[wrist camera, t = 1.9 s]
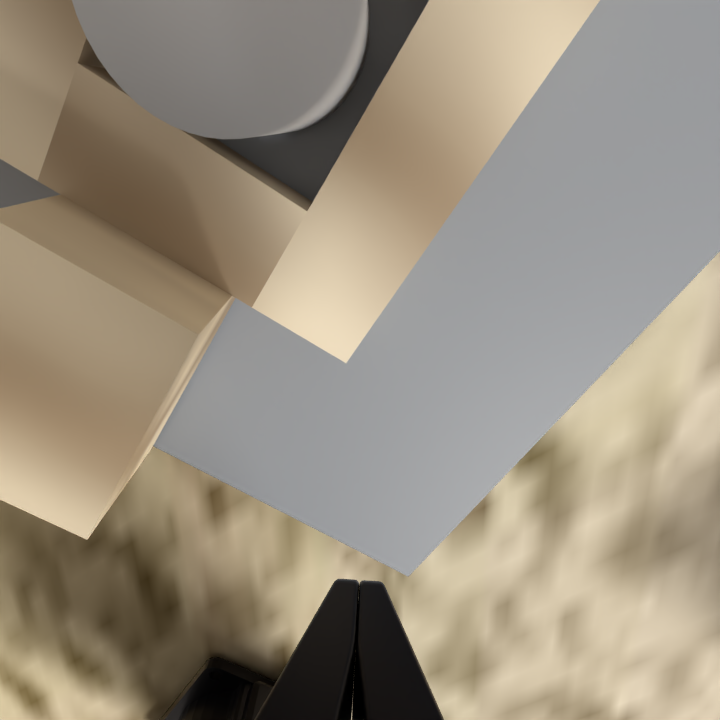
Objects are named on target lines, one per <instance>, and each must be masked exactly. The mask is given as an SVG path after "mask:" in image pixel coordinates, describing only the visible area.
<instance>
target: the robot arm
mask: <svg viewBox="0 0 720 720" xmlns="http://www.w3.org/2000/svg"><path fill="white" fill-rule="evenodd" d="M358 596H359V599H358ZM354 668H355V669H354ZM353 684H354V688H353ZM352 700H353V708H352ZM351 713H352V720H444V719H443V716H442V714H441V712H440V709H439V707H438V705H437V703H436V700H435V698H434V696H433V694H432V691H431V689H430V687H429V685H428V682H427V680H426V678H425V676H424V673H423V671H422V669H421V667H420V664H419V662H418V660H417V658H416V655H415V653H414V651H413V649H412V646H411V644H410V642H409V639H408V637H407V635H406V633H405V630H404V628H403V626H402V624H401V621H400V619H399V617H398V615H397V612H396V610H395V608H394V606H393V603H392V601H391V599H390V597H389V594H388V592H387V590H386V588H385V586H384V584H383V583H382V582H379V581H365V580H364V581H361V582H360V584H359V583H358V581H357V580H350V579H337V580H336V581H335V582H334V583H333V585H332V587H331V588H330V590H329V592H328V593H327V595H326V597H325V599H324V600H323V602H322V604H321V606H320V607H319V609H318V611H317V612H316V614H315V616H314V618H313V619H312V621H311V623H310V625H309V626H308V628H307V630H306V631H305V633H304V635H303V637H302V638H301V640H300V642H299V644H298V645H297V647H296V649H295V650H294V652H293V654H292V656H291V657H290V659H289V661H288V663H287V664H286V666H285V668H284V669H283V671H282V673H281V675H280V676H279V678H278V680H277V681H276V682H275V681H272V680H270V679H268V678H266V677H263V676H261V675H259V674H256V673H254V672H252V671H250V670H247V669H245V668H243V667H240V666H238V665H236V664H234V663H231V662H229V661H227V660H224V659H221V658H211V659H209V660H208V661H206V663H205V664H204V665H203V666H202V668H201V669H200V670H199V672H198V673H197V674H196V675H195V677H194V678H193V679H192V680H191V682H190V683H189V684H188V685H187V687H186V688H185V689H184V690H183V692H182V693H181V694H180V695H179V697H178V698H177V699H176V701H175V702H174V703H173V704H172V706H171V707H170V708H169V709H168V711H167V712H166V713H165V714H164V716H163V717H162V718H161V719H160V720H351Z"/></svg>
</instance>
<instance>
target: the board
mask: <svg viewBox="0 0 720 720" xmlns="http://www.w3.org/2000/svg"><path fill="white" fill-rule="evenodd" d="M428 1H429V0H72V2H73V5H74V8H75V12H76V15H77V17H78V20H79V22H80V24H81V27H82V29H83V31H84V33H85V36H86V38H87V40H88V41H89V43H90V45H91V47H92V49H93V50H94V52H95V54H96V56H97V57H98V59H99V60H100V62H101V63H102V65H103V66H104V67H105V69H106V70H107V72H108V73H109V75H110V76H111V77H112V78H113V79H114V80H115V81H116V83H117V84H118V85H119V86H120V87H121V88H122V90H123V91H124V92H125V93H127V94H128V95H129V96H130V97H131V98H132V99H133V100H134V101H135V102H136V103H137V104H138V105H140V106H141V107H143V108H144V109H145V110H147V111H148V112H149V113H151V114H152V115H153V116H155V117H157V118H158V119H160V120H162V121H164V122H166V123H167V124H169V125H171V126H173V127H176V128H178V129H181V130H183V131H185V132H188V133H191V134H195V135H199V136H203V137H208V138H215V139H217V140H219V141H220V142H222V143H223V144H225V145H226V146H228V147H229V148H231V149H232V150H234V151H235V152H237V153H238V154H240V155H242V156H243V157H245V158H246V159H248V160H249V161H251V162H252V163H254V164H255V165H257V166H258V167H260V168H261V169H263V170H265V171H266V172H268V173H269V174H271V175H272V176H274V177H275V178H277V179H278V180H280V181H281V182H283V183H284V184H286V185H288V186H289V187H291V188H292V189H294V190H295V191H297V192H298V193H300V194H301V195H303V196H304V197H306V198H307V199H309V200H310V201H312V202H313V201H314V199H315V197H316V195H317V194H318V192H319V190H320V189H321V187H322V185H323V183H324V182H325V180H326V178H327V176H328V175H329V173H330V171H331V169H332V168H333V166H334V164H335V163H336V161H337V159H338V157H339V156H340V154H341V152H342V150H343V149H344V147H345V145H346V143H347V142H348V140H349V138H350V137H351V135H352V133H353V131H354V130H355V128H356V126H357V124H358V123H359V121H360V119H361V117H362V116H363V114H364V112H365V111H366V109H367V107H368V105H369V104H370V102H371V100H372V98H373V97H374V95H375V93H376V91H377V90H378V88H379V86H380V85H381V83H382V81H383V79H384V78H385V76H386V74H387V72H388V71H389V69H390V67H391V65H392V64H393V62H394V60H395V59H396V57H397V55H398V53H399V52H400V50H401V48H402V46H403V45H404V43H405V41H406V39H407V38H408V36H409V34H410V33H411V31H412V29H413V27H414V26H415V24H416V22H417V20H418V19H419V17H420V15H421V14H422V12H423V10H424V8H425V7H426V5H427V3H428ZM57 195H61V194H59V193H57V192H55V191H54V190H52V189H50V188H49V187H47V186H45V185H44V184H42V183H40V182H39V181H37V180H35V179H33V178H32V177H30V176H28V175H27V174H25V173H23V172H22V171H20V170H18V169H17V168H15V167H13V166H12V165H10V164H8V163H6V162H5V161H3V160H1V159H0V208H5V207H9V206H13V205H18V204H22V203H26V202H31V201H35V200H39V199H44V198H48V197H52V196H57ZM719 252H720V0H600V1H599V2H598V4H597V5H596V7H595V8H594V10H593V11H592V12H591V14H590V15H589V17H588V18H587V20H586V21H585V22H584V24H583V25H582V27H581V28H580V30H579V31H578V32H577V34H576V35H575V37H574V38H573V40H572V41H571V43H570V44H569V45H568V47H567V48H566V50H565V51H564V53H563V54H562V55H561V57H560V58H559V60H558V61H557V63H556V64H555V65H554V67H553V68H552V70H551V71H550V73H549V74H548V75H547V77H546V78H545V80H544V81H543V83H542V84H541V85H540V87H539V88H538V90H537V91H536V93H535V94H534V95H533V97H532V98H531V100H530V101H529V103H528V104H527V105H526V107H525V108H524V110H523V111H522V113H521V114H520V115H519V117H518V118H517V120H516V121H515V123H514V124H513V125H512V127H511V128H510V130H509V131H508V133H507V134H506V135H505V137H504V138H503V140H502V141H501V143H500V144H499V145H498V147H497V148H496V150H495V151H494V153H493V154H492V155H491V157H490V158H489V160H488V161H487V163H486V164H485V165H484V167H483V168H482V170H481V171H480V173H479V174H478V175H477V177H476V178H475V180H474V181H473V183H472V184H471V185H470V187H469V188H468V190H467V191H466V193H465V194H464V195H463V197H462V198H461V200H460V201H459V203H458V204H457V205H456V207H455V208H454V210H453V211H452V213H451V214H450V215H449V217H448V218H447V220H446V221H445V223H444V224H443V226H442V227H441V228H440V230H439V231H438V233H437V234H436V236H435V237H434V238H433V240H432V241H431V243H430V244H429V246H428V247H427V248H426V250H425V251H424V253H423V254H422V256H421V257H420V258H419V260H418V261H417V263H416V264H415V266H414V267H413V268H412V270H411V271H410V273H409V274H408V276H407V277H406V278H405V280H404V281H403V283H402V284H401V286H400V287H399V288H398V290H397V291H396V293H395V294H394V296H393V297H392V298H391V300H390V301H389V303H388V304H387V306H386V307H385V308H384V310H383V311H382V313H381V314H380V316H379V317H378V318H377V320H376V321H375V323H374V324H373V326H372V327H371V328H370V330H369V331H368V333H367V334H366V336H365V337H364V338H363V340H362V341H361V343H360V344H359V346H358V347H357V348H356V350H355V351H354V353H353V354H352V356H351V357H350V358H349V360H348V361H347V363H345V362H343V361H341V360H340V359H338V358H336V357H335V356H333V355H331V354H330V353H328V352H326V351H324V350H323V349H321V348H319V347H318V346H316V345H314V344H313V343H311V342H309V341H308V340H306V339H304V338H302V337H301V336H299V335H297V334H296V333H294V332H292V331H291V330H289V329H287V328H286V327H284V326H282V325H280V324H279V323H277V322H275V321H274V320H272V319H270V318H269V317H267V316H265V315H264V314H262V313H260V312H259V311H257V310H255V309H253V308H252V307H250V306H248V305H247V304H245V303H243V302H242V301H240V300H238V299H237V298H235V300H234V302H233V303H232V305H231V307H230V309H229V311H228V312H227V314H226V316H225V318H224V320H223V321H222V323H221V325H220V327H219V328H218V330H217V332H216V334H215V336H214V337H213V339H212V341H211V343H210V345H209V346H208V348H207V350H206V352H205V354H204V355H203V357H202V359H201V361H200V363H199V364H198V366H197V368H196V370H195V372H194V373H193V375H192V377H191V379H190V381H189V382H188V384H187V386H186V388H185V390H184V391H183V393H182V395H181V397H180V398H179V400H178V402H177V404H176V406H175V407H174V409H173V411H172V413H171V415H170V416H169V418H168V420H167V422H166V424H165V425H164V427H163V429H162V431H161V433H160V434H159V436H158V438H157V440H156V442H155V443H154V445H153V446H154V447H156V448H158V449H160V450H162V451H164V452H166V453H168V454H170V455H172V456H173V457H175V458H177V459H179V460H181V461H183V462H185V463H187V464H189V465H191V466H193V467H195V468H197V469H199V470H201V471H203V472H205V473H207V474H209V475H211V476H213V477H215V478H217V479H218V480H220V481H222V482H224V483H226V484H228V485H230V486H232V487H234V488H236V489H238V490H240V491H242V492H244V493H246V494H248V495H250V496H252V497H254V498H256V499H258V500H260V501H262V502H263V503H265V504H267V505H269V506H271V507H273V508H275V509H277V510H279V511H281V512H283V513H285V514H287V515H289V516H291V517H293V518H295V519H297V520H299V521H301V522H303V523H305V524H307V525H308V526H310V527H312V528H314V529H316V530H318V531H320V532H322V533H324V534H326V535H328V536H330V537H332V538H334V539H336V540H338V541H340V542H342V543H344V544H346V545H348V546H350V547H352V548H353V549H355V550H357V551H359V552H361V553H363V554H365V555H367V556H369V557H371V558H373V559H375V560H377V561H379V562H381V563H383V564H385V565H387V566H389V567H391V568H393V569H395V570H397V571H399V572H400V573H402V574H404V575H406V576H409V575H410V574H411V573H412V572H413V571H414V570H415V569H416V568H417V567H418V566H419V565H420V564H421V563H422V562H423V561H424V560H425V559H426V558H427V557H428V556H429V555H430V553H431V552H432V551H433V550H434V549H435V548H436V547H437V546H438V545H439V544H440V543H441V542H442V541H443V540H444V539H445V538H446V537H447V536H448V535H449V534H450V533H451V532H452V530H453V529H454V528H455V527H456V526H457V525H458V524H459V523H460V522H461V521H462V520H463V519H464V518H465V517H466V516H467V515H468V514H469V513H470V512H471V511H472V510H473V509H474V507H475V506H476V505H477V504H478V503H479V502H480V501H481V500H482V499H483V498H484V497H485V496H486V495H487V494H488V493H489V492H490V491H491V490H492V489H493V488H494V487H495V486H496V485H497V483H498V482H499V481H500V480H501V479H502V478H503V477H504V476H505V475H506V474H507V473H508V472H509V471H510V470H511V469H512V468H513V467H514V466H515V465H516V464H517V463H518V462H519V460H520V459H521V458H522V457H523V456H524V455H525V454H526V453H527V452H528V451H529V450H530V449H531V448H532V447H533V446H534V445H535V444H536V443H537V442H538V441H539V440H540V439H541V437H542V436H543V435H544V434H545V433H546V432H547V431H548V430H549V429H550V428H551V427H552V426H553V425H554V424H555V423H556V422H557V421H558V420H559V419H560V418H561V417H562V416H563V414H564V413H565V412H566V411H567V410H568V409H569V408H570V407H571V406H572V405H573V404H574V403H575V402H576V401H577V400H578V399H579V398H580V397H581V396H582V395H583V394H584V393H585V392H586V390H587V389H588V388H589V387H590V386H591V385H592V384H593V383H594V382H595V381H596V380H597V379H598V378H599V377H600V376H601V375H602V374H603V373H604V372H605V371H606V370H607V369H608V367H609V366H610V365H611V364H612V363H613V362H614V361H615V360H616V359H617V358H618V357H619V356H620V355H621V354H622V353H623V352H624V351H625V350H626V349H627V348H628V347H629V346H630V344H631V343H632V342H633V341H634V340H635V339H636V338H637V337H638V336H639V335H640V334H641V333H642V332H643V331H644V330H645V329H646V328H647V327H648V326H649V325H650V324H651V323H652V322H653V320H654V319H655V318H656V317H657V316H658V315H659V314H660V313H661V312H662V311H663V310H664V309H665V308H666V307H667V306H668V305H669V304H670V303H671V302H672V301H673V300H674V299H675V297H676V296H677V295H678V294H679V293H680V292H681V291H682V290H683V289H684V288H685V287H686V286H687V285H688V284H689V283H690V282H691V281H692V280H693V279H694V278H695V277H696V276H697V274H698V273H699V272H700V271H701V270H702V269H703V268H704V267H705V266H706V265H707V264H708V263H709V262H710V261H711V260H712V259H713V258H714V257H715V256H716V255H717V254H718V253H719Z"/></svg>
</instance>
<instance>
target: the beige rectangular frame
mask: <svg viewBox="0 0 720 720" xmlns="http://www.w3.org/2000/svg"><path fill="white" fill-rule="evenodd" d="M599 1H600V0H429V1H428V3H427V5H426V7H425V8H424V10H423V12H422V14H421V15H420V17H419V19H418V20H417V22H416V24H415V26H414V27H413V29H412V31H411V33H410V34H409V36H408V38H407V39H406V41H405V43H404V45H403V46H402V48H401V50H400V52H399V53H398V55H397V57H396V59H395V60H394V62H393V64H392V65H391V67H390V69H389V71H388V72H387V74H386V76H385V78H384V79H383V81H382V83H381V85H380V86H379V88H378V90H377V91H376V93H375V95H374V97H373V98H372V100H371V102H370V104H369V105H368V107H367V109H366V111H365V112H364V114H363V116H362V117H361V119H360V121H359V123H358V124H357V126H356V128H355V130H354V131H353V133H352V135H351V137H350V138H349V140H348V142H347V143H346V145H345V147H344V149H343V150H342V152H341V154H340V156H339V157H338V159H337V161H336V163H335V164H334V166H333V168H332V169H331V171H330V173H329V175H328V176H327V178H326V180H325V182H324V183H323V185H322V187H321V189H320V190H319V192H318V194H317V195H316V197H315V199H314V201H313V202H312V201H310V200H309V199H307V198H306V197H304V196H303V195H301V194H300V193H298V192H297V191H295V190H294V189H292V188H291V187H289V186H288V185H286V184H284V183H283V182H281V181H280V180H278V179H277V178H275V177H274V176H272V175H271V174H269V173H268V172H266V171H265V170H263V169H261V168H260V167H258V166H257V165H255V164H254V163H252V162H251V161H249V160H248V159H246V158H245V157H243V156H242V155H240V154H238V153H237V152H235V151H234V150H232V149H231V148H229V147H228V146H226V145H225V144H223V143H222V142H220V141H219V140H217V139H215V138H208V137H203V136H199V135H195V134H191V133H188V132H185V131H183V130H181V129H178V128H176V127H173V126H171V125H169V124H167V123H166V122H164V121H162V120H160V119H158V118H157V117H155V116H153V115H152V114H151V113H149V112H148V111H147V110H145V109H144V108H143V107H141V106H140V105H138V104H137V103H136V102H135V101H134V100H133V99H132V98H131V97H130V96H129V95H128V94H127V93H125V92H124V91H123V90H122V88H121V87H120V86H119V85H118V84H117V83H116V81H115V80H114V79H113V78H112V77H111V76H110V75H109V73H108V72H107V70H106V69H105V67H104V66H103V65H102V63H101V62H100V60H99V59H98V57H97V56H96V54H95V52H94V50H93V49H92V47H91V45H90V43H89V41H88V40H87V38H86V36H85V33H84V31H83V29H82V27H81V24H80V22H79V20H78V17H77V15H76V12H75V8H74V5H73V2H72V0H0V159H1V160H3V161H5V162H6V163H8V164H10V165H12V166H13V167H15V168H17V169H18V170H20V171H22V172H23V173H25V174H27V175H28V176H30V177H32V178H33V179H35V180H37V181H39V182H40V183H42V184H44V185H45V186H47V187H49V188H50V189H52V190H54V191H55V192H57V193H59V194H61V195H57V196H52V197H48V198H44V199H39V200H35V201H31V202H26V203H22V204H18V205H13V206H9V207H5V208H0V500H2V501H4V502H6V503H8V504H10V505H13V506H15V507H17V508H19V509H21V510H23V511H26V512H28V513H30V514H32V515H34V516H37V517H39V518H41V519H43V520H45V521H47V522H50V523H52V524H54V525H56V526H58V527H60V528H63V529H65V530H67V531H69V532H71V533H73V534H76V535H78V536H80V537H82V538H84V539H86V540H87V539H88V538H89V537H90V535H91V534H92V532H93V531H94V530H95V528H96V527H97V525H98V524H99V523H100V521H101V520H102V518H103V517H104V515H105V514H106V513H107V511H108V510H109V508H110V507H111V506H112V504H113V503H114V501H115V500H116V499H117V497H118V496H119V494H120V493H121V491H122V490H123V489H124V487H125V486H126V484H127V483H128V482H129V480H130V479H131V477H132V476H133V474H134V473H135V472H136V470H137V469H138V467H139V466H140V465H141V463H142V462H143V460H144V459H145V458H146V456H147V455H148V453H149V452H150V450H151V449H152V447H153V445H154V443H155V442H156V440H157V438H158V436H159V434H160V433H161V431H162V429H163V427H164V425H165V424H166V422H167V420H168V418H169V416H170V415H171V413H172V411H173V409H174V407H175V406H176V404H177V402H178V400H179V398H180V397H181V395H182V393H183V391H184V390H185V388H186V386H187V384H188V382H189V381H190V379H191V377H192V375H193V373H194V372H195V370H196V368H197V366H198V364H199V363H200V361H201V359H202V357H203V355H204V354H205V352H206V350H207V348H208V346H209V345H210V343H211V341H212V339H213V337H214V336H215V334H216V332H217V330H218V328H219V327H220V325H221V323H222V321H223V320H224V318H225V316H226V314H227V312H228V311H229V309H230V307H231V305H232V303H233V302H234V300H235V298H237V299H238V300H240V301H242V302H243V303H245V304H247V305H248V306H250V307H252V308H253V309H255V310H257V311H259V312H260V313H262V314H264V315H265V316H267V317H269V318H270V319H272V320H274V321H275V322H277V323H279V324H280V325H282V326H284V327H286V328H287V329H289V330H291V331H292V332H294V333H296V334H297V335H299V336H301V337H302V338H304V339H306V340H308V341H309V342H311V343H313V344H314V345H316V346H318V347H319V348H321V349H323V350H324V351H326V352H328V353H330V354H331V355H333V356H335V357H336V358H338V359H340V360H341V361H343V362H345V363H347V361H348V360H349V358H350V357H351V356H352V354H353V353H354V351H355V350H356V348H357V347H358V346H359V344H360V343H361V341H362V340H363V338H364V337H365V336H366V334H367V333H368V331H369V330H370V328H371V327H372V326H373V324H374V323H375V321H376V320H377V318H378V317H379V316H380V314H381V313H382V311H383V310H384V308H385V307H386V306H387V304H388V303H389V301H390V300H391V298H392V297H393V296H394V294H395V293H396V291H397V290H398V288H399V287H400V286H401V284H402V283H403V281H404V280H405V278H406V277H407V276H408V274H409V273H410V271H411V270H412V268H413V267H414V266H415V264H416V263H417V261H418V260H419V258H420V257H421V256H422V254H423V253H424V251H425V250H426V248H427V247H428V246H429V244H430V243H431V241H432V240H433V238H434V237H435V236H436V234H437V233H438V231H439V230H440V228H441V227H442V226H443V224H444V223H445V221H446V220H447V218H448V217H449V215H450V214H451V213H452V211H453V210H454V208H455V207H456V205H457V204H458V203H459V201H460V200H461V198H462V197H463V195H464V194H465V193H466V191H467V190H468V188H469V187H470V185H471V184H472V183H473V181H474V180H475V178H476V177H477V175H478V174H479V173H480V171H481V170H482V168H483V167H484V165H485V164H486V163H487V161H488V160H489V158H490V157H491V155H492V154H493V153H494V151H495V150H496V148H497V147H498V145H499V144H500V143H501V141H502V140H503V138H504V137H505V135H506V134H507V133H508V131H509V130H510V128H511V127H512V125H513V124H514V123H515V121H516V120H517V118H518V117H519V115H520V114H521V113H522V111H523V110H524V108H525V107H526V105H527V104H528V103H529V101H530V100H531V98H532V97H533V95H534V94H535V93H536V91H537V90H538V88H539V87H540V85H541V84H542V83H543V81H544V80H545V78H546V77H547V75H548V74H549V73H550V71H551V70H552V68H553V67H554V65H555V64H556V63H557V61H558V60H559V58H560V57H561V55H562V54H563V53H564V51H565V50H566V48H567V47H568V45H569V44H570V43H571V41H572V40H573V38H574V37H575V35H576V34H577V32H578V31H579V30H580V28H581V27H582V25H583V24H584V22H585V21H586V20H587V18H588V17H589V15H590V14H591V12H592V11H593V10H594V8H595V7H596V5H597V4H598V2H599Z"/></svg>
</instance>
